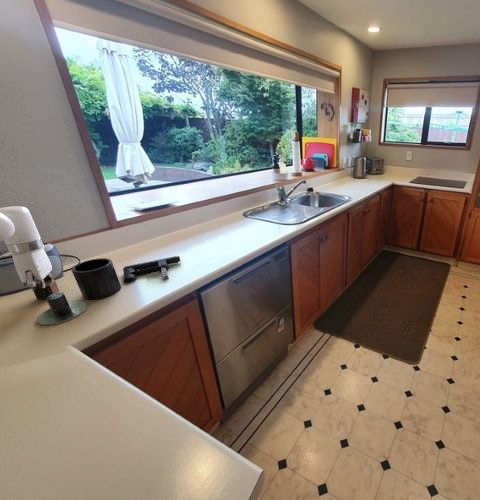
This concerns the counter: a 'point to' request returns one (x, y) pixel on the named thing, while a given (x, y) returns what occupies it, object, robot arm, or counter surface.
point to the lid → (60, 310)
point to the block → (50, 287)
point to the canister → (96, 279)
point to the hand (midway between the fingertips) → (48, 293)
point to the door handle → (149, 268)
